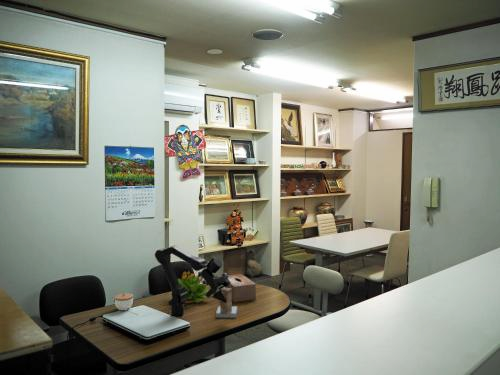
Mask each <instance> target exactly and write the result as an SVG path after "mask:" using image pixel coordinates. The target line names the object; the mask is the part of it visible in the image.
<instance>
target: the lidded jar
mask: <svg viewBox="0 0 500 375" xmlns="http://www.w3.org/2000/svg"><path fill="white" fill-rule="evenodd" d="M133 302H134V295H133V294H132V293H125V292H123V293H120V294H116V295H114V305H115V307H116V308H117V309H118V310H119V311H120V310H124V309H128V308H129V309H130V308H131V307H132V306H133ZM129 309H128V310H129Z"/></svg>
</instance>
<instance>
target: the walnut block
mask: <svg viewBox="0 0 500 375" xmlns="http://www.w3.org/2000/svg"><path fill="white" fill-rule="evenodd" d="M221 293H222V295H223V296H224V298H225V299H226V301H227V302H226V303H224V302H222V301H220V300H219V303H220V304H219V306H220V314H225V315H229V314H230V313H231V312H232V306H233V304H232V302H233V300H232V288H225V287H224V288H222V289H221Z"/></svg>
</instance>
